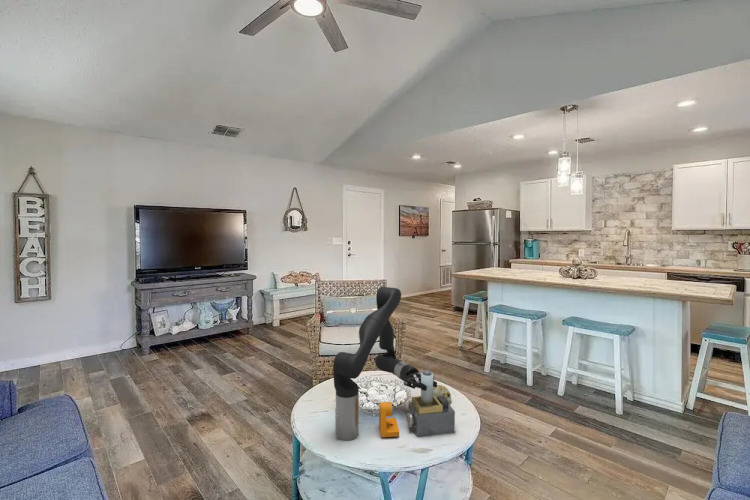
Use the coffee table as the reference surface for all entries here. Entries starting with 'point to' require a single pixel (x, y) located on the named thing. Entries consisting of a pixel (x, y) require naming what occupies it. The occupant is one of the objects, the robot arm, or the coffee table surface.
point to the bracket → (387, 421)
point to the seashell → (442, 392)
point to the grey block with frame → (431, 416)
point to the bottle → (428, 381)
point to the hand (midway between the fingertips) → (431, 386)
